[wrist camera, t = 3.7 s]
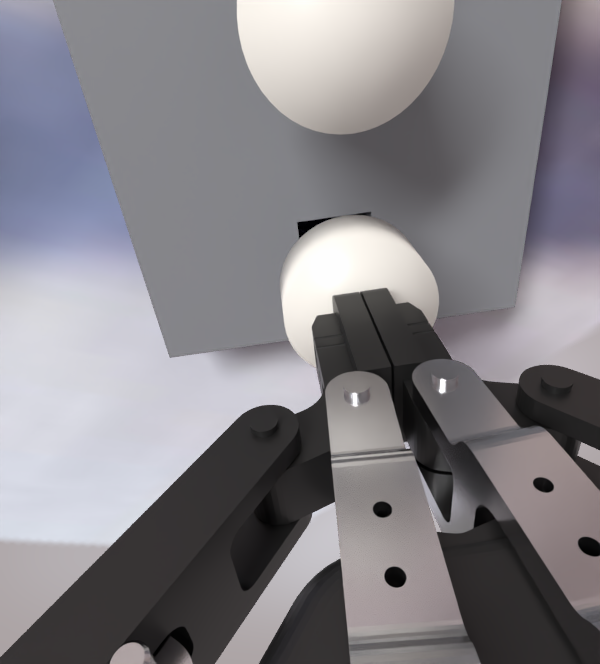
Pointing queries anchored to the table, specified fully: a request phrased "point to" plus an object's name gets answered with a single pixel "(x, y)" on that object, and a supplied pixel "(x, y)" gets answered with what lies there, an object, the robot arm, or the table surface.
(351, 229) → the knob
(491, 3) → the control board
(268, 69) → the knob middle
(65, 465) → the table surface
